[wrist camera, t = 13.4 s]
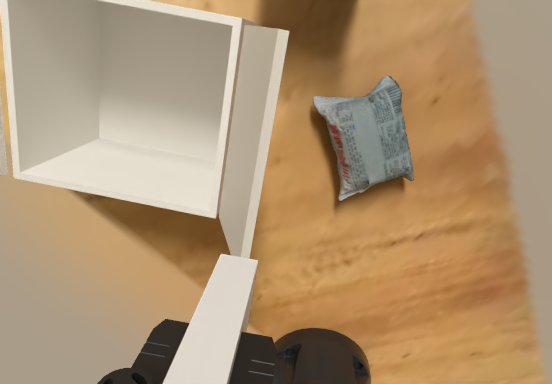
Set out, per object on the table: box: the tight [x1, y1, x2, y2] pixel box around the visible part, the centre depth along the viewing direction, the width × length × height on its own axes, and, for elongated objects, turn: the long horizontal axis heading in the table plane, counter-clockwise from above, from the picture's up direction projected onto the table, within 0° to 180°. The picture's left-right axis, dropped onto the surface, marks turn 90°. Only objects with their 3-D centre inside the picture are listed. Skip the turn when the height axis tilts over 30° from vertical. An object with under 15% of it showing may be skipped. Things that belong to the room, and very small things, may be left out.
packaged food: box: [313, 75, 414, 201], centre depth 41 cm, size 9×12×5 cm
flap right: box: [219, 25, 289, 259], centre depth 26 cm, size 15×8×1 cm
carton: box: [0, 0, 264, 219], centre depth 37 cm, size 16×18×14 cm
